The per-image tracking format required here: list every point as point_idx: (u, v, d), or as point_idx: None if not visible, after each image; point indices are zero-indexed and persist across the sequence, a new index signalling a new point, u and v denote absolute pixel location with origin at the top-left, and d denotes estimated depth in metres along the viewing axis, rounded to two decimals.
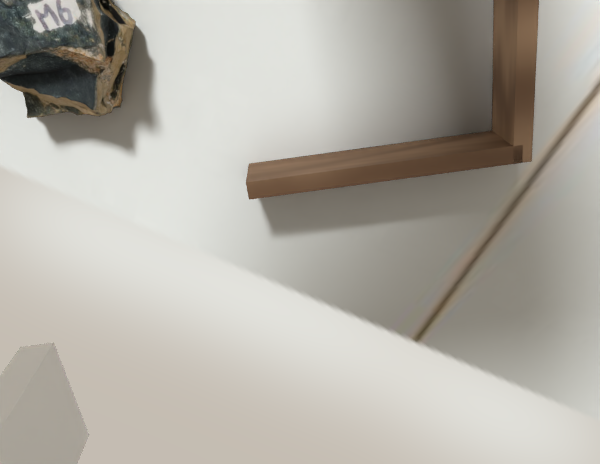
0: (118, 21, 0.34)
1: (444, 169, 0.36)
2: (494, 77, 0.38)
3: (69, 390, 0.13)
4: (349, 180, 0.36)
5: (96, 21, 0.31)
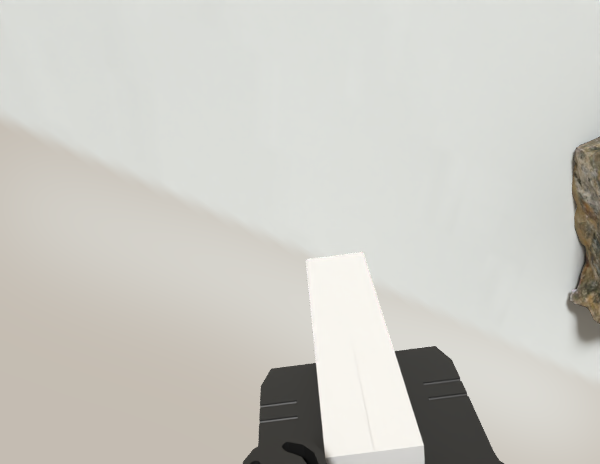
0: None
1: None
2: None
3: None
4: None
5: None
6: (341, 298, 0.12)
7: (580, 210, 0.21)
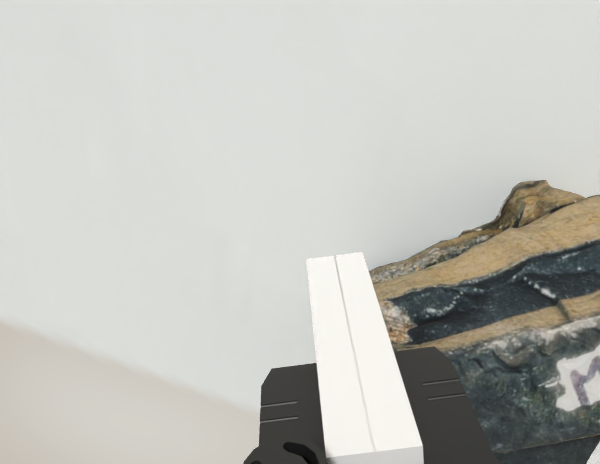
0: None
1: None
2: None
3: None
4: None
5: None
6: (340, 298, 0.12)
7: None
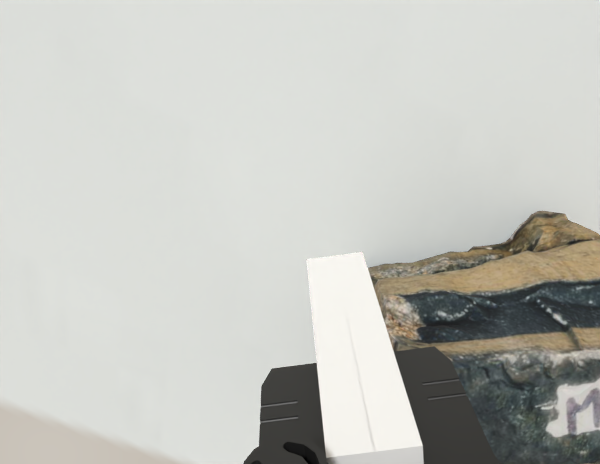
0: None
1: None
2: None
3: None
4: None
5: None
6: (340, 298, 0.12)
7: None
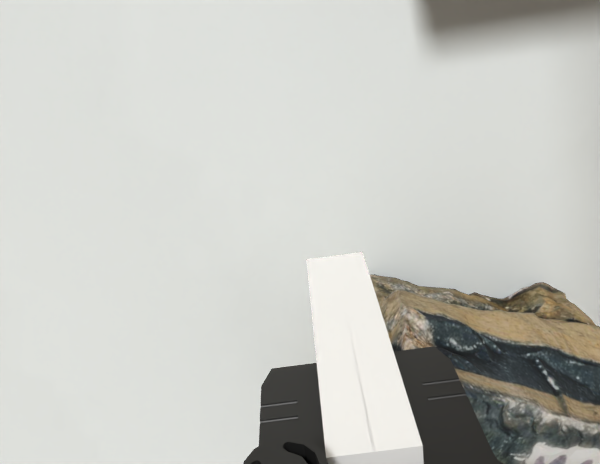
0: None
1: None
2: None
3: None
4: None
5: None
6: (340, 298, 0.12)
7: None
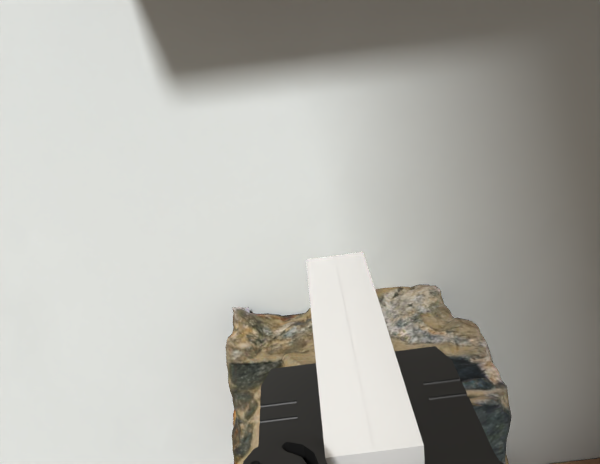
0: None
1: None
2: None
3: None
4: None
5: None
6: (341, 298, 0.12)
7: None
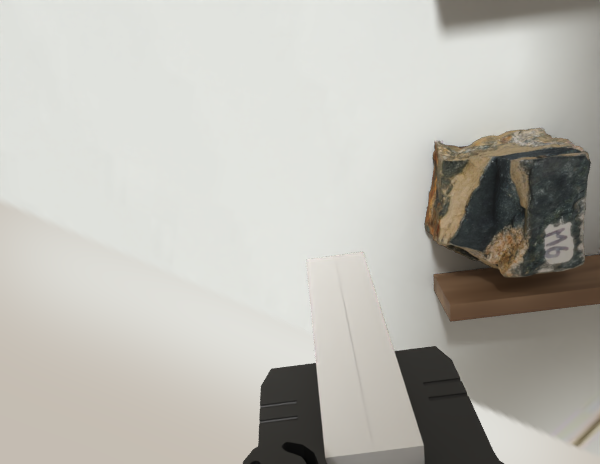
0: None
1: None
2: None
3: None
4: (557, 303, 0.35)
5: (539, 273, 0.33)
6: (341, 298, 0.12)
7: (500, 137, 0.34)
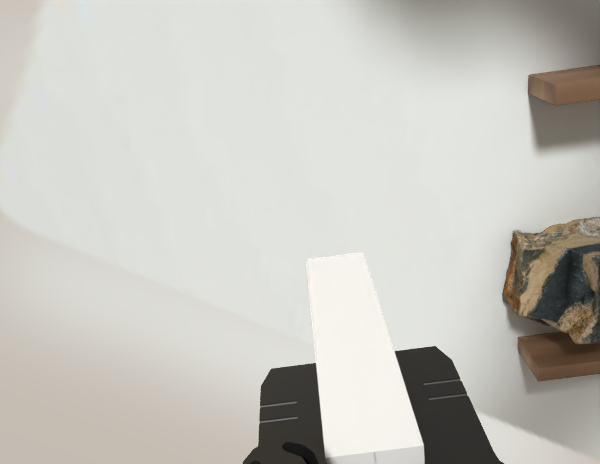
0: None
1: None
2: None
3: None
4: None
5: None
6: (341, 298, 0.12)
7: (567, 225, 0.41)
